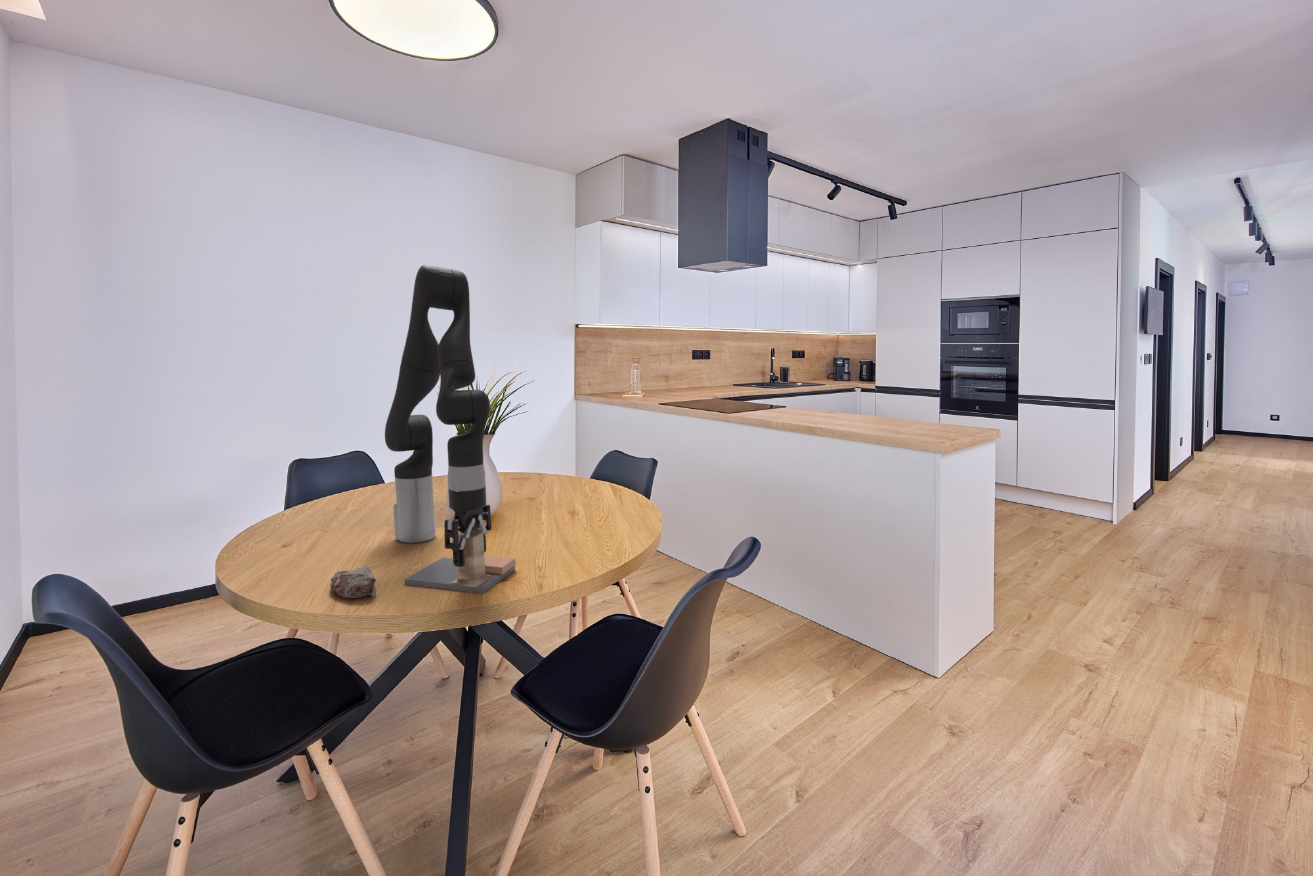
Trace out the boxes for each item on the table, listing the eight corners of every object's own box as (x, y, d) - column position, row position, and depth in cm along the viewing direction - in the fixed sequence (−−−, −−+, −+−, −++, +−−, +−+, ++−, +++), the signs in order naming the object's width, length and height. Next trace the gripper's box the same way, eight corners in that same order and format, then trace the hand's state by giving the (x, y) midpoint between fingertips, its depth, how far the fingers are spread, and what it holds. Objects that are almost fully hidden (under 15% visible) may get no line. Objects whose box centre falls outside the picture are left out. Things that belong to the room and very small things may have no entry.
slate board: (404, 584, 130) (404, 579, 130) (442, 562, 143) (442, 557, 143) (483, 593, 125) (483, 587, 125) (515, 569, 139) (514, 564, 138)
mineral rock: (328, 584, 130) (326, 565, 130) (368, 576, 135) (366, 558, 134) (335, 609, 118) (333, 588, 117) (379, 600, 122) (377, 579, 122)
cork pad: (451, 584, 127) (451, 582, 127) (466, 574, 133) (466, 572, 133) (476, 587, 125) (476, 585, 125) (491, 576, 131) (491, 574, 131)
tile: (469, 564, 134) (502, 567, 132) (484, 555, 140) (515, 558, 138) (470, 571, 134) (502, 575, 132) (484, 562, 140) (515, 565, 138)
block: (457, 581, 127) (454, 536, 126) (468, 573, 132) (466, 530, 130) (475, 583, 126) (473, 537, 125) (486, 575, 131) (484, 531, 129)
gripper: (469, 477, 134) (472, 547, 136) (430, 491, 120) (435, 569, 122) (500, 479, 132) (502, 549, 134) (464, 494, 118) (467, 572, 121)
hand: (470, 559), depth 128 cm, fingers open, 8 cm apart
